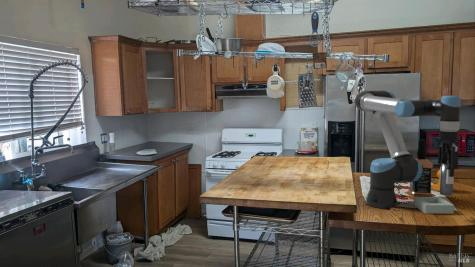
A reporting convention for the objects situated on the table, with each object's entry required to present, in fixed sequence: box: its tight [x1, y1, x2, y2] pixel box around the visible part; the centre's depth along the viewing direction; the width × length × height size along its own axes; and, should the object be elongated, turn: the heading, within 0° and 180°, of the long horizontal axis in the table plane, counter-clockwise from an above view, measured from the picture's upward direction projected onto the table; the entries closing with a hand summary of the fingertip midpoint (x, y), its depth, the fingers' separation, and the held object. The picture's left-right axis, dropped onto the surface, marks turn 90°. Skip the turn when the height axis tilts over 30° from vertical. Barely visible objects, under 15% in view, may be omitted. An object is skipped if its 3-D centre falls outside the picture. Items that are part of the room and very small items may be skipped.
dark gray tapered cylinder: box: [439, 162, 454, 197], centre depth 162 cm, size 5×5×14 cm
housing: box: [412, 196, 455, 215], centre depth 175 cm, size 13×13×5 cm
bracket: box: [431, 169, 440, 192], centre depth 210 cm, size 11×7×12 cm, turn 113°
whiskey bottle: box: [408, 139, 434, 199], centre depth 194 cm, size 10×10×32 cm
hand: (446, 181), depth 162 cm, fingers closed on dark gray tapered cylinder, 5 cm apart
